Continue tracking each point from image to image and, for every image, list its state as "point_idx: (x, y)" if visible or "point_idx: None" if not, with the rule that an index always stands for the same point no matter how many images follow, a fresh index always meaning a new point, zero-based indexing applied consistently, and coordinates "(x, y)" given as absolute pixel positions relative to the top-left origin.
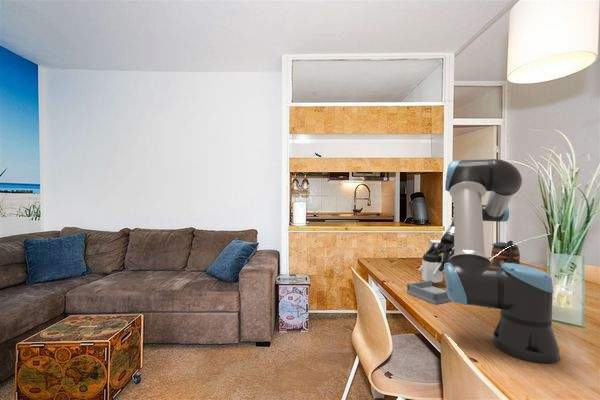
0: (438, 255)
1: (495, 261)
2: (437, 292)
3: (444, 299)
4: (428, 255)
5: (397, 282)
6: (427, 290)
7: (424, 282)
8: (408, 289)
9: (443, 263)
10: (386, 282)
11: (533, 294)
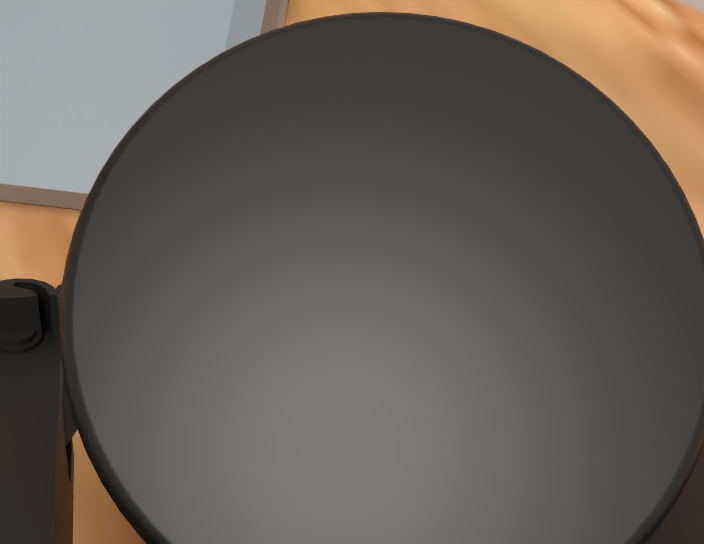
0: (257, 489)
1: None
2: (35, 57)
3: None
4: (449, 137)
5: (641, 112)
6: (150, 27)
7: (227, 40)
8: None
9: (6, 323)
10: (693, 13)
11: None
